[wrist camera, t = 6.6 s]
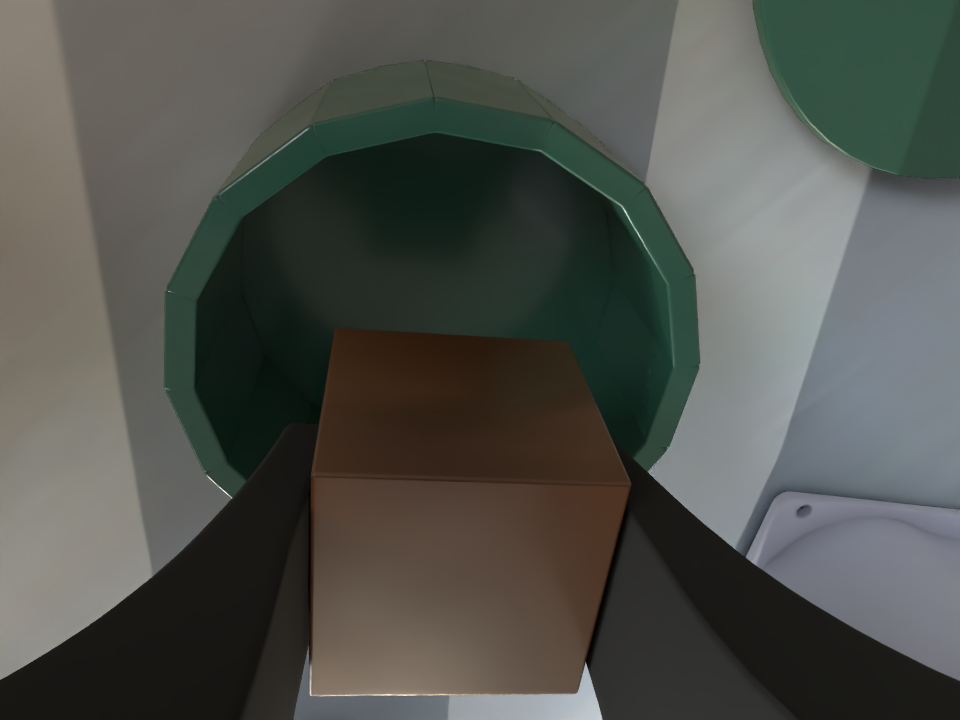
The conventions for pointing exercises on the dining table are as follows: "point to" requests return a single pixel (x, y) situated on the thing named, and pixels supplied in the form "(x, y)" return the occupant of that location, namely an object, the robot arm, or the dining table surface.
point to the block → (457, 517)
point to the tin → (424, 258)
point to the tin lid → (871, 77)
